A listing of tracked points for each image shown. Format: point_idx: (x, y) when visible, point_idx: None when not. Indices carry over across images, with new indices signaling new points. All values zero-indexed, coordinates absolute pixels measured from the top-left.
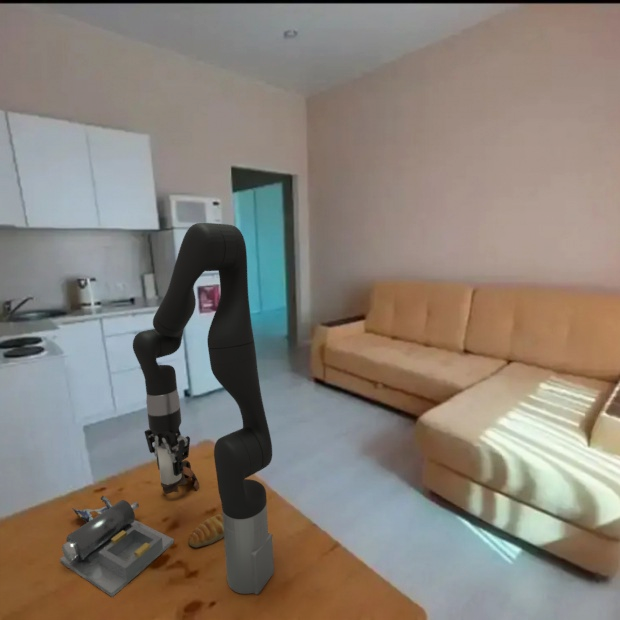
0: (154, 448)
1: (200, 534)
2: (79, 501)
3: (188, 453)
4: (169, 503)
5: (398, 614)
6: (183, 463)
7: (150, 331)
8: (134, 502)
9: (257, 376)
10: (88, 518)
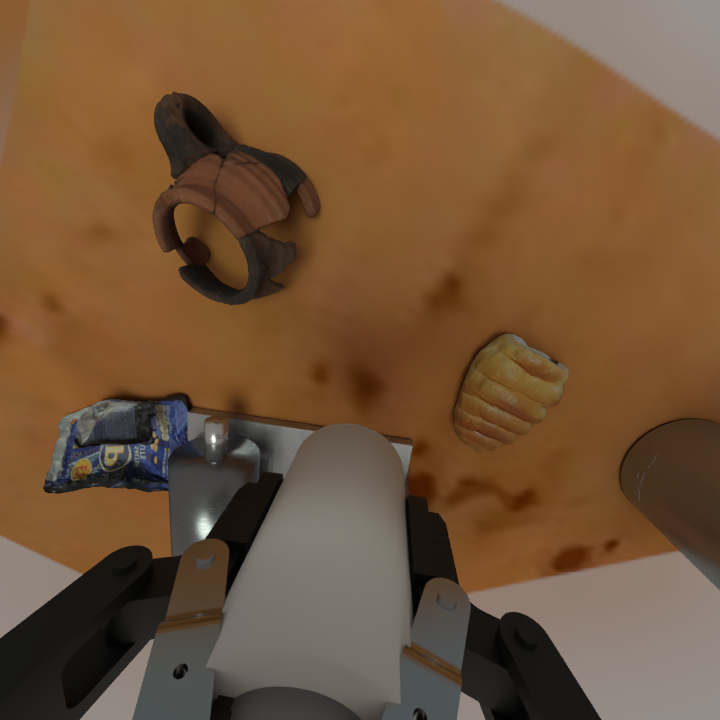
0: (136, 635)
1: (502, 436)
2: (2, 394)
3: (572, 676)
4: (274, 308)
5: None
6: (178, 139)
7: None
8: (205, 427)
9: None
10: (124, 479)
